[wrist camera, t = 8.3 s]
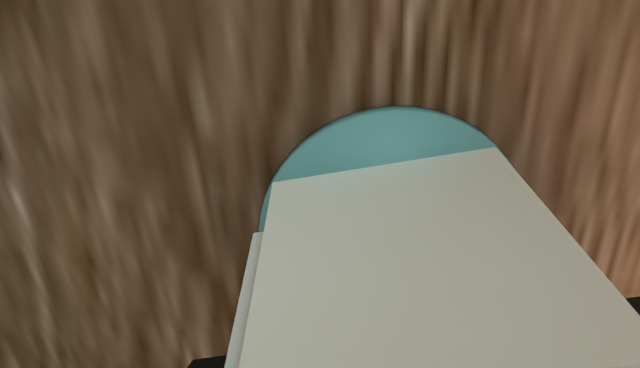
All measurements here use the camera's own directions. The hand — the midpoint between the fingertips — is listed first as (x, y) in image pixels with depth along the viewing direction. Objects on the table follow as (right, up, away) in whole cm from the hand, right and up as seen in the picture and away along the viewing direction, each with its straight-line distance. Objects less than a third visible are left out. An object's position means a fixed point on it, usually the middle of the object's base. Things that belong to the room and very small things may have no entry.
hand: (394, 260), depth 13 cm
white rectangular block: (0, 0, 0) cm, 0 cm away
